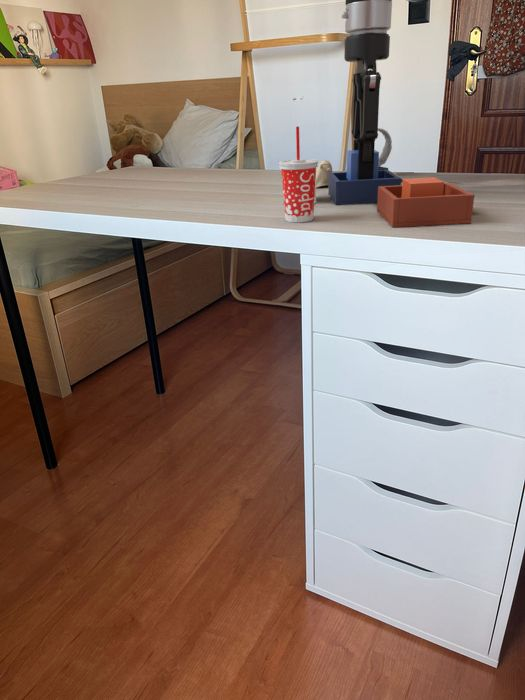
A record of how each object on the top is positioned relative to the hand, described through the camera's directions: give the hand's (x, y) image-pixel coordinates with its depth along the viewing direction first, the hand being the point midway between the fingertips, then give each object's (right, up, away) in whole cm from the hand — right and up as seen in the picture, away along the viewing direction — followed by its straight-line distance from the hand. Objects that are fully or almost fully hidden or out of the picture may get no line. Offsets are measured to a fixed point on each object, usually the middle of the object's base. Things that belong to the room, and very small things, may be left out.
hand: (362, 177), depth 99 cm
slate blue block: (0, 0, 0) cm, 0 cm away
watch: (+5, +4, +17) cm, 18 cm away
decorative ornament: (-6, +3, +16) cm, 17 cm away
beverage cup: (-13, -11, -12) cm, 21 cm away
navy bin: (0, -3, +2) cm, 4 cm away
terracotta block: (+6, -11, -16) cm, 20 cm away
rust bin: (+6, -11, -16) cm, 20 cm away
